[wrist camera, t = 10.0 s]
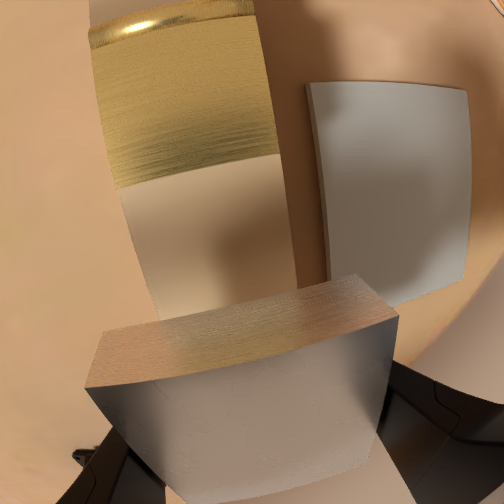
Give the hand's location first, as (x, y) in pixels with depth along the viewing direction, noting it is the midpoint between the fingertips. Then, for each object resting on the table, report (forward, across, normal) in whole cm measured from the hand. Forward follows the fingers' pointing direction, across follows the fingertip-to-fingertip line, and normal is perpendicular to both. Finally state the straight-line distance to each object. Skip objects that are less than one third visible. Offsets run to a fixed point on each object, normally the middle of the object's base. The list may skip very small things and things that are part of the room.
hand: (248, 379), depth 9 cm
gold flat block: (+1, 0, -11) cm, 11 cm away
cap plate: (-1, 0, 0) cm, 1 cm away
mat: (+6, -10, -3) cm, 12 cm away
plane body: (+6, 0, -4) cm, 7 cm away
